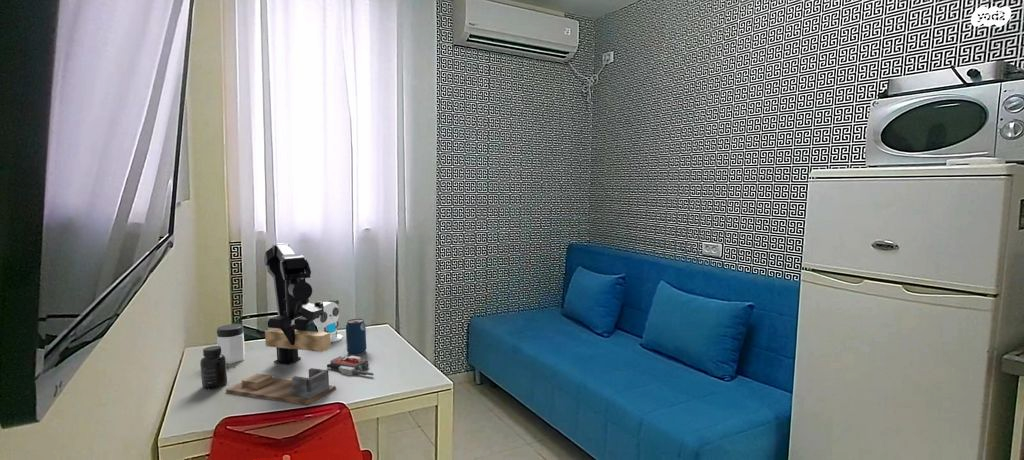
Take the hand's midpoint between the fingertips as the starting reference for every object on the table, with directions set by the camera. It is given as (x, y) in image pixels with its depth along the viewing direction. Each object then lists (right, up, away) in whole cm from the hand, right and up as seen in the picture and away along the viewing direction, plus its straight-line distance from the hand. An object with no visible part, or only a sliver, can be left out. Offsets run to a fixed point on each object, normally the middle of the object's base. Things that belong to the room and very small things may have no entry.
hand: (297, 342), depth 166 cm
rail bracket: (0, -12, -12) cm, 17 cm away
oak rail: (0, -1, 0) cm, 1 cm away
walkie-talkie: (+17, -11, +5) cm, 21 cm away
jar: (-30, -10, +17) cm, 36 cm away
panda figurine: (-5, -8, +41) cm, 42 cm away
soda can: (+12, -9, +23) cm, 28 cm away
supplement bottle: (-23, -12, -7) cm, 27 cm away
